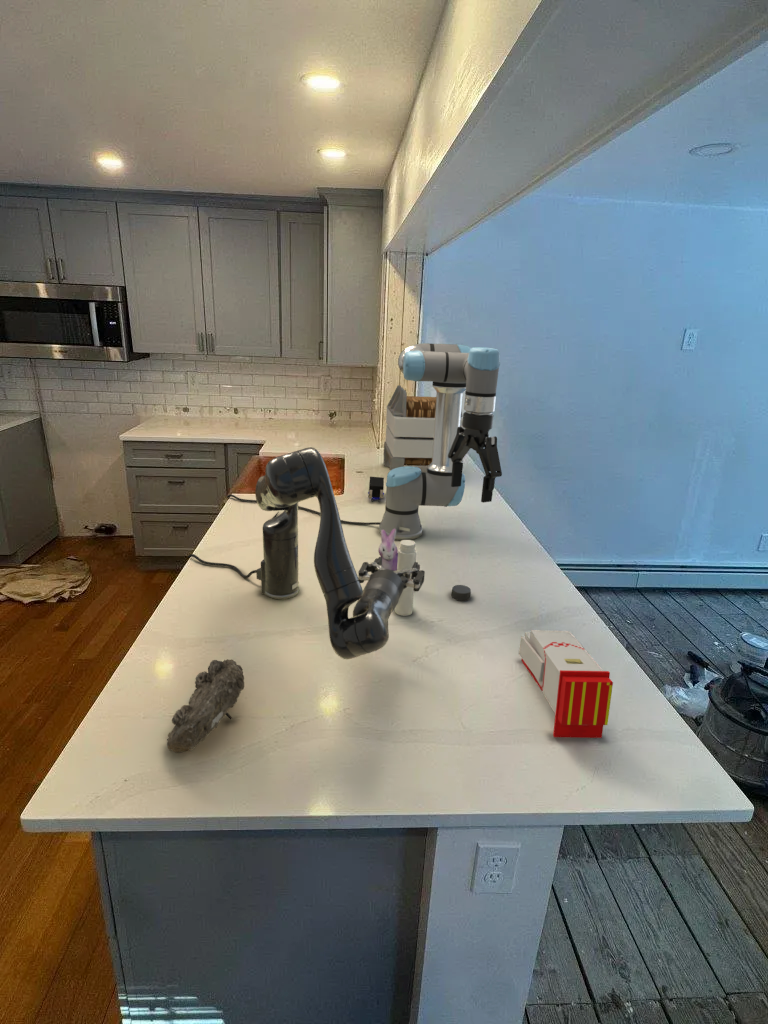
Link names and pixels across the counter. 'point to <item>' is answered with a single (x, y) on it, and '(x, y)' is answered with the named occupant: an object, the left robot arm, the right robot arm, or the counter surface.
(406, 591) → the jar
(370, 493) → the figurine character
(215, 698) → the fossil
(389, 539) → the figurine
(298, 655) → the counter surface
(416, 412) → the tiered storage shelf
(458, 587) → the lid
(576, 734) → the toy
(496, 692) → the counter surface
